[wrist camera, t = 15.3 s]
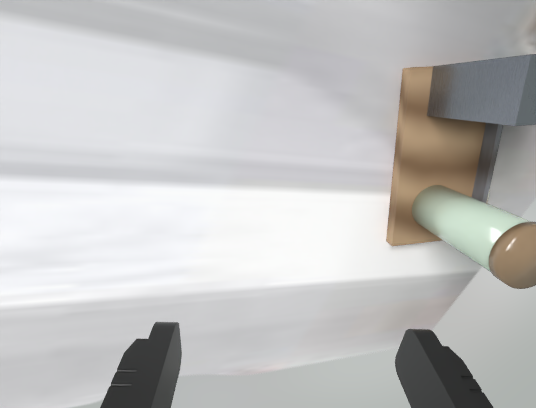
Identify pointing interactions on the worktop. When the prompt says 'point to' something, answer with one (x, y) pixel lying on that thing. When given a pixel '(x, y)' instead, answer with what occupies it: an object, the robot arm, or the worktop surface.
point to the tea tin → (486, 91)
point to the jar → (481, 233)
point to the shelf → (435, 157)
